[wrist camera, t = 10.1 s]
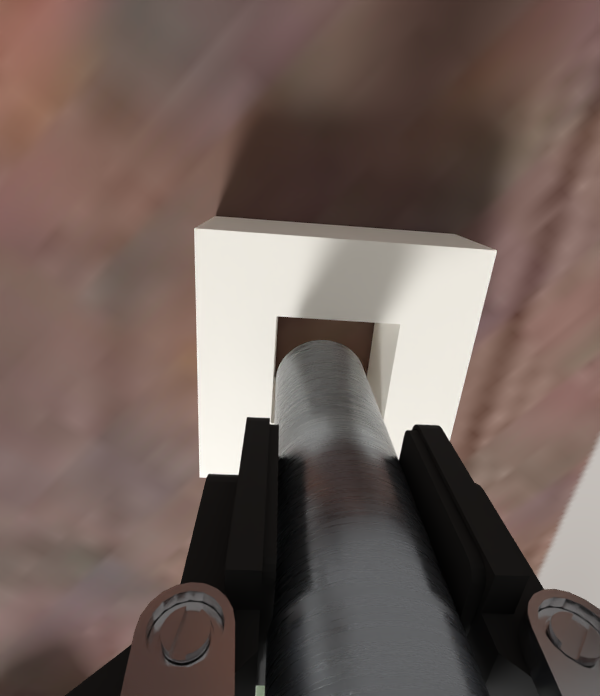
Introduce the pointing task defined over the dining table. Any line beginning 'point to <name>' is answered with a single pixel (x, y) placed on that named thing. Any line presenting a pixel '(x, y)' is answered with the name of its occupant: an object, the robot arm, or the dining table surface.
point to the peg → (353, 550)
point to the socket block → (332, 318)
